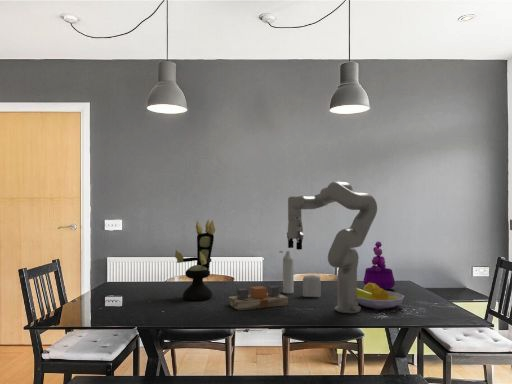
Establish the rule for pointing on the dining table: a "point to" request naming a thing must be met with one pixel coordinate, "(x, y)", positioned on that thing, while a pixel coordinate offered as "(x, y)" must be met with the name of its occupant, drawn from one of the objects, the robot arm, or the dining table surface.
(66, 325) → the dining table surface
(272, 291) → the block
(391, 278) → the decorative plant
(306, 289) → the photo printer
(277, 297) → the breaker board
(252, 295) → the cap
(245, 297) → the block
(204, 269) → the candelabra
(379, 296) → the fruit bowl
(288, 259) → the water bottle
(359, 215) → the robot arm
